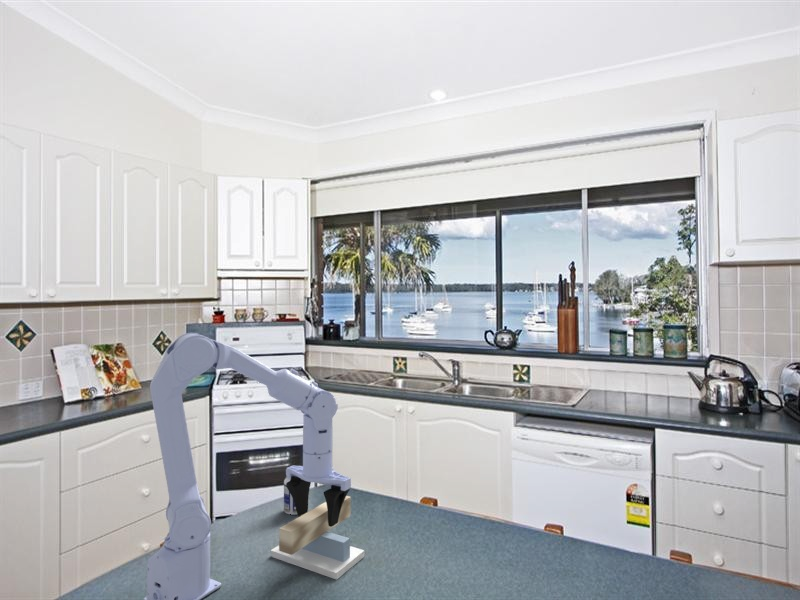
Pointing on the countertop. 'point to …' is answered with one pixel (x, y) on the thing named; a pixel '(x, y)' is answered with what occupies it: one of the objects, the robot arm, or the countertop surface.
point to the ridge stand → (324, 555)
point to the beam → (309, 527)
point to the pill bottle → (288, 500)
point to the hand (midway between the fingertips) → (317, 520)
